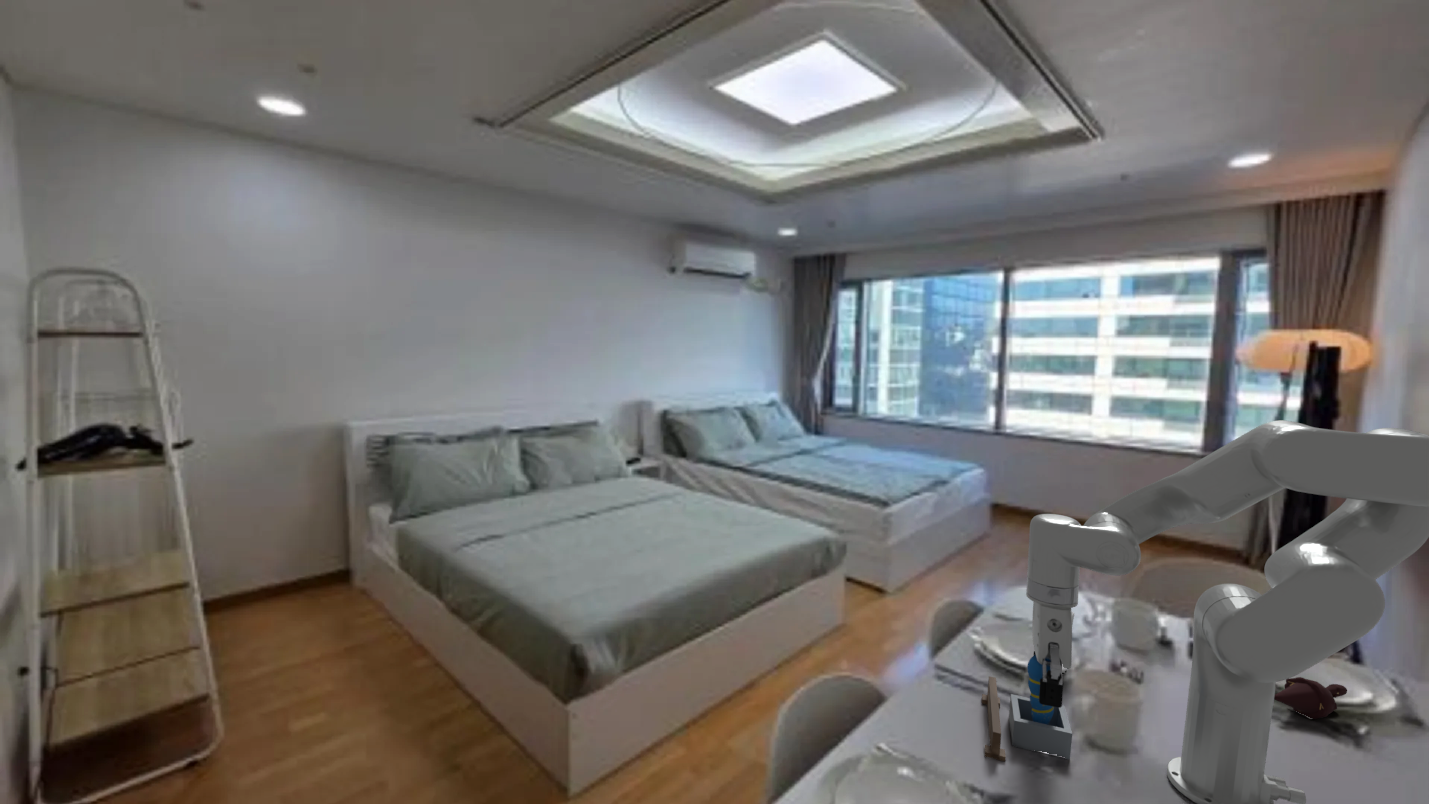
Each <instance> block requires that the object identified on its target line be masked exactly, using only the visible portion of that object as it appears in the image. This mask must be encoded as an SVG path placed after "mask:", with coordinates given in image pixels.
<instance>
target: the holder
mask: <svg viewBox="0 0 1429 804" xmlns="http://www.w3.org/2000/svg"><path fill="white" fill-rule="evenodd" d="M1008 709H1009V710H1008V723H1009V730H1010V740H1011V741H1010V742H1011V746H1012V747H1014V748H1019V749H1022V750H1027V751H1032V750H1033V751H1032V752H1035V751H1042V752H1047V753H1049V754H1057V756H1062V757H1065V758H1066V759H1065V760H1068V759H1069V760H1068V761H1070V760H1071V753H1072V752H1071V751H1072V741H1073V731H1072V729H1071V724H1070V721H1069V717H1068V713H1067V710H1066V706H1065V705H1064V704H1062V707H1061V708H1058V707H1054V713H1053V716H1052V718H1051V720H1050V722H1049V724H1048V725H1047V724H1042V723H1038V722H1033V719H1032V716H1031V711H1032V706H1031V702H1030V697H1026V696H1021V695H1017V694H1013V693H1010V698H1009V708H1008ZM1034 750H1035V751H1034Z"/></svg>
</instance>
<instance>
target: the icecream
mask: <svg viewBox="0 0 1429 804" xmlns="http://www.w3.org/2000/svg"><path fill="white" fill-rule="evenodd" d="M1283 687H1284V689H1283V690H1280V691H1279V692H1277V693H1275V696H1274V701H1277V702H1280V703H1281V704H1284V705H1286V706H1288V707H1290V708H1292V710H1293V711H1294V710H1295V711H1297V712H1299V713H1301V714H1304V715H1306V716H1308V717H1310V718H1313V719H1315V720H1317V719H1320V718H1328V716H1329V714H1331V713H1333V712H1334V711H1337V710H1338V705H1337V703H1336V700H1335V698H1338V697H1343V696H1345V695H1346V694H1347V693H1348V688H1347V687H1346V686H1344V685H1343V684H1337V683H1332V684H1328V685H1327V686H1326V687H1325V686H1324V685H1322V683H1320V682H1318V681H1317V680H1316V681H1315V680H1312V679H1309V678H1308V679H1307V678H1305V677H1301V676H1298V677H1297V676H1296V677H1291V678H1289V679H1286V680H1285V684H1284V686H1283ZM1295 711H1294V712H1295Z"/></svg>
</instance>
